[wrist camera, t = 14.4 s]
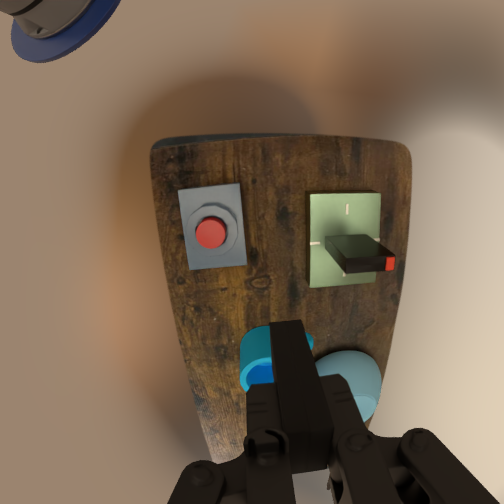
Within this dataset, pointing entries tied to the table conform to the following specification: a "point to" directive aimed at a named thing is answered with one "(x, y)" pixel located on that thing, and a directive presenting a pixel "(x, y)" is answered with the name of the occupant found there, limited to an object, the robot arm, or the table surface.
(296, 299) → the table surface
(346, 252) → the black slab
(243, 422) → the table surface
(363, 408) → the sugar bowl
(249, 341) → the mug
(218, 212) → the button housing
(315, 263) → the dial panel
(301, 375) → the robot arm
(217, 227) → the button
